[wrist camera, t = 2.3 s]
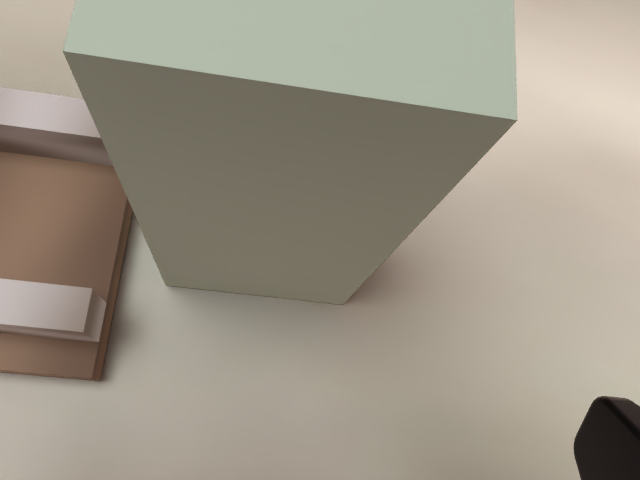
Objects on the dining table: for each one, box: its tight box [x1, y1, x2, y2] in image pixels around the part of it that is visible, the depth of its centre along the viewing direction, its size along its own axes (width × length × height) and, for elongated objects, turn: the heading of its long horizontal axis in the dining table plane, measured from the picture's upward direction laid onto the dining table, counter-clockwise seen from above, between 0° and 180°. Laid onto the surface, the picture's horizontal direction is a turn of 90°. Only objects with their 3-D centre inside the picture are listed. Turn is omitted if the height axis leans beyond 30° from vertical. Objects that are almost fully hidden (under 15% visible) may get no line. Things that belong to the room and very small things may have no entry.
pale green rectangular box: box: [63, 0, 517, 305], centre depth 14 cm, size 6×2×13 cm, turn 86°
